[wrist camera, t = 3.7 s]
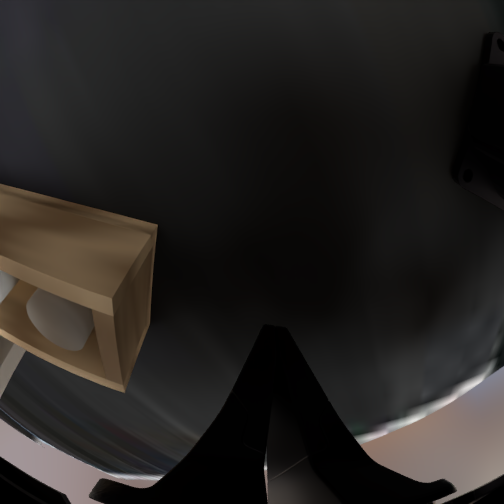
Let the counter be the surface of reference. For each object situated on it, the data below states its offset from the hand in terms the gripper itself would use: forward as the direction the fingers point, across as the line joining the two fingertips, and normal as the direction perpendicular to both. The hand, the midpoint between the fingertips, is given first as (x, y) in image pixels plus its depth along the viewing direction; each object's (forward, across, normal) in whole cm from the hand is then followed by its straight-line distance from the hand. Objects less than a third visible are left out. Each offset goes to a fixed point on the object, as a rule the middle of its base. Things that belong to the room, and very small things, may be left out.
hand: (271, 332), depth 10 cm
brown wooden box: (+2, +10, 0) cm, 10 cm away
